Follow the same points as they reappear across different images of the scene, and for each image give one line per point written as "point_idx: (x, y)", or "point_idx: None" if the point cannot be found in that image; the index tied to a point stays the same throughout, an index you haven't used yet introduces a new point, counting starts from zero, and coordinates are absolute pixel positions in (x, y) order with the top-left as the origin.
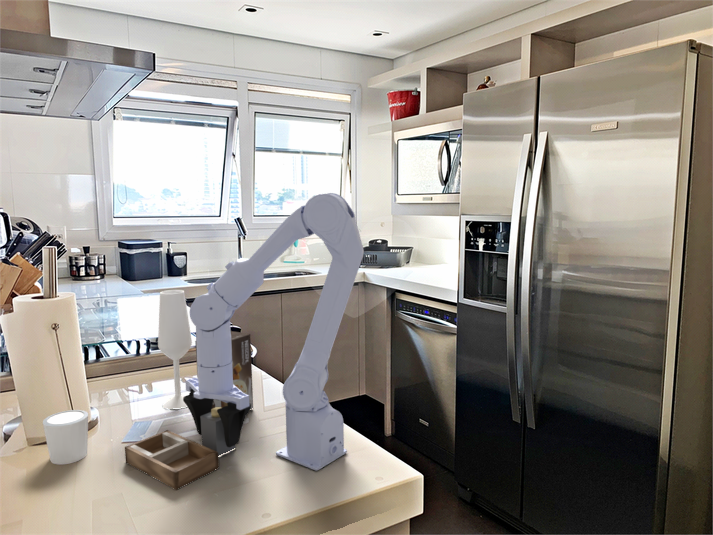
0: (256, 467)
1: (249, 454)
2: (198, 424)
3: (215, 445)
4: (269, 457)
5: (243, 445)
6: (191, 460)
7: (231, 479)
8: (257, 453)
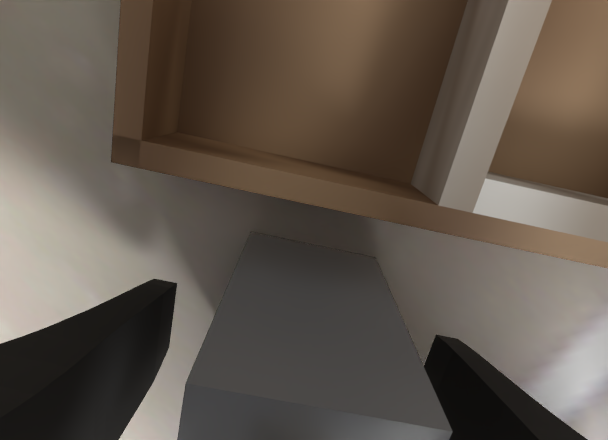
0: (3, 239)
1: None
2: (475, 381)
3: (250, 264)
4: None
5: None
6: (346, 133)
7: (11, 79)
8: None
